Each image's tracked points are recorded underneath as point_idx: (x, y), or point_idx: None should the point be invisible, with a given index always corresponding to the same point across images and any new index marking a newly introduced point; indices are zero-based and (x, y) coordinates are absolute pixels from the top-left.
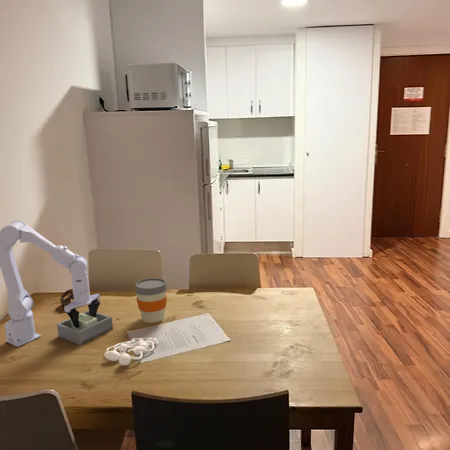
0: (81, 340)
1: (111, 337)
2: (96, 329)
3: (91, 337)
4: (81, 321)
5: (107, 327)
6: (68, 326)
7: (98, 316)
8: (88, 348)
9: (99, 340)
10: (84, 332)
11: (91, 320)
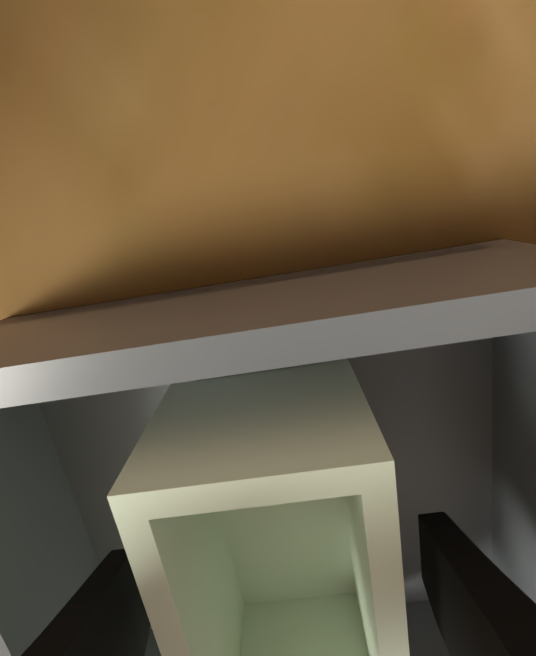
0: (514, 248)
1: (116, 116)
2: (234, 306)
3: (335, 271)
4: (398, 582)
5: (51, 322)
6: (409, 651)
7: (29, 603)
8: (503, 67)
9: (274, 169)
10: (497, 279)
11: (240, 487)
